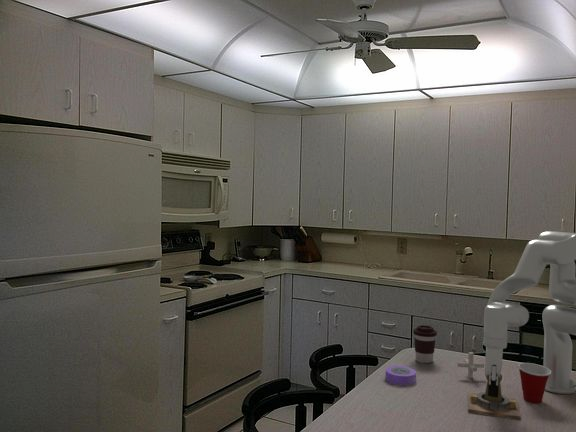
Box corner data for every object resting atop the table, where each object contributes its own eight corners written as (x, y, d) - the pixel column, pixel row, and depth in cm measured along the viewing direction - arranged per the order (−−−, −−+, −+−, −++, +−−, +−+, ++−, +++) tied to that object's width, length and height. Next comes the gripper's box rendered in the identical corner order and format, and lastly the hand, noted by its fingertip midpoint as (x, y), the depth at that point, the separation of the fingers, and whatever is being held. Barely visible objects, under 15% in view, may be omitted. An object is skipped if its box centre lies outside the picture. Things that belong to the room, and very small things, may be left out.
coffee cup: (413, 363, 223) (414, 329, 222) (411, 356, 233) (412, 323, 232) (437, 365, 221) (438, 330, 221) (434, 358, 231) (435, 324, 231)
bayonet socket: (515, 401, 183) (516, 393, 183) (520, 419, 168) (520, 410, 168) (467, 395, 188) (468, 386, 188) (468, 412, 173) (468, 403, 173)
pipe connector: (487, 382, 202) (488, 357, 201) (461, 381, 202) (462, 356, 202) (478, 373, 212) (479, 349, 211) (454, 372, 212) (454, 348, 212)
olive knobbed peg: (484, 398, 182) (485, 367, 182) (502, 401, 180) (503, 370, 179) (483, 404, 176) (484, 372, 176) (502, 407, 174) (503, 375, 174)
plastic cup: (536, 409, 177) (537, 374, 176) (509, 397, 186) (511, 365, 186) (557, 403, 182) (558, 370, 181) (530, 393, 191) (531, 361, 191)
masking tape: (410, 387, 195) (411, 377, 195) (381, 381, 201) (381, 372, 201) (419, 378, 205) (419, 369, 205) (391, 373, 211) (391, 363, 211)
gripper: (484, 334, 186) (482, 384, 187) (482, 346, 171) (480, 400, 172) (506, 336, 184) (504, 387, 184) (507, 349, 168) (505, 404, 169)
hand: (493, 393), depth 178 cm, fingers closed on olive knobbed peg, 4 cm apart
